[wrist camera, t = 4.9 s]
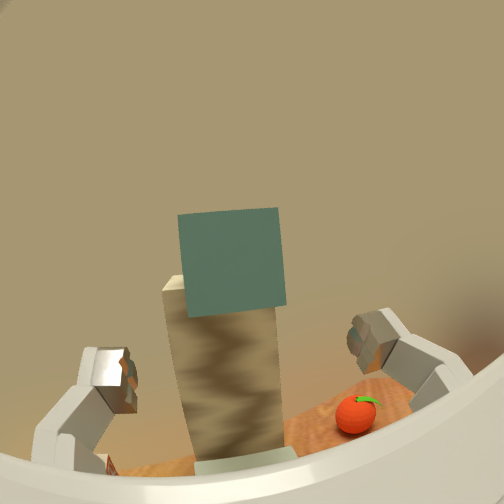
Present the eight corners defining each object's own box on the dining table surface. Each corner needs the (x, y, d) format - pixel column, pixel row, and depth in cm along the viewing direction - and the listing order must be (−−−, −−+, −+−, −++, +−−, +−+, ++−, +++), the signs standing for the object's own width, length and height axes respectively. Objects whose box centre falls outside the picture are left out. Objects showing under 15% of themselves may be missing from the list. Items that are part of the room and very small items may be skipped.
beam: (188, 317, 11) (177, 214, 11) (190, 273, 32) (186, 238, 32) (286, 305, 12) (277, 207, 11) (224, 269, 33) (221, 235, 33)
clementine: (379, 417, 41) (383, 385, 40) (380, 440, 34) (385, 407, 34) (336, 418, 43) (337, 387, 43) (332, 441, 37) (333, 408, 37)
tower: (221, 531, 20) (161, 290, 19) (210, 473, 32) (172, 275, 31) (287, 519, 22) (272, 278, 21) (263, 465, 33) (243, 268, 33)
